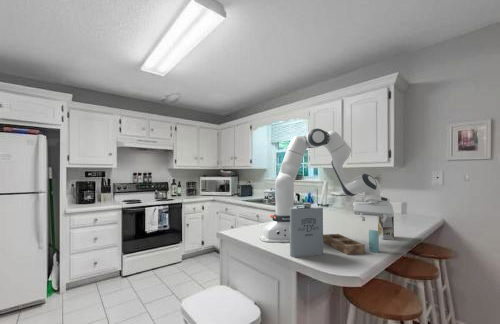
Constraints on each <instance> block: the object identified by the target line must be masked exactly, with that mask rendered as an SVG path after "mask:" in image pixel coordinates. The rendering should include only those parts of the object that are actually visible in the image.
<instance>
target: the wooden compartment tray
mask: <svg viewBox="0 0 500 324" xmlns="http://www.w3.org/2000/svg"><path fill="white" fill-rule="evenodd" d="M323 243H325V244H327V245H328V246H331V247H332V248H334V249H336V250H338V251H340V252H342V253H344V254H345V255H357V254H358V255H361V254H365V253H366V248H365V247H366V245H365V244H363V243H361V242H359V241H356V240H354V239H351V238H349V237H347V236H345V235H342V234H340V233H331V234H329V233H327V234H323Z"/></svg>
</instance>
